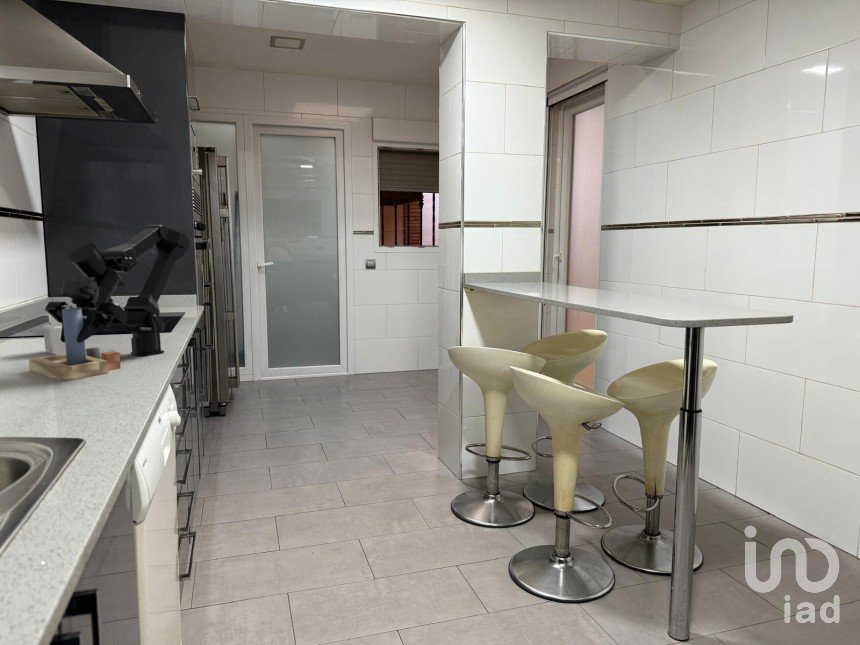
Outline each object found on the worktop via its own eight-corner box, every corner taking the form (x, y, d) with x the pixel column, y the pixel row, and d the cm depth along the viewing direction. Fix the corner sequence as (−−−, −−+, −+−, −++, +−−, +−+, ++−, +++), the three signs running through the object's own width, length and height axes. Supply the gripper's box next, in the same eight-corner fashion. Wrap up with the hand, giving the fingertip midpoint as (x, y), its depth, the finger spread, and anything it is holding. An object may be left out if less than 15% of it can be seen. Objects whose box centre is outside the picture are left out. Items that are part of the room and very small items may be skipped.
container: (74, 348, 178) (70, 304, 176) (85, 351, 173) (81, 305, 171) (45, 352, 172) (40, 306, 170) (55, 355, 167) (51, 308, 165)
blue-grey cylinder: (84, 365, 147) (79, 307, 145) (88, 367, 144) (83, 309, 142) (65, 367, 144) (60, 309, 142) (69, 370, 141) (63, 310, 139)
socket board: (91, 360, 159) (90, 345, 159) (126, 369, 149) (125, 353, 148) (29, 370, 148) (28, 354, 147) (63, 381, 137) (62, 363, 137)
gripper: (47, 268, 146) (12, 320, 137) (115, 268, 143) (85, 322, 133) (74, 297, 155) (44, 347, 146) (140, 298, 151) (112, 350, 142)
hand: (70, 341), depth 142 cm, fingers closed on blue-grey cylinder, 4 cm apart
